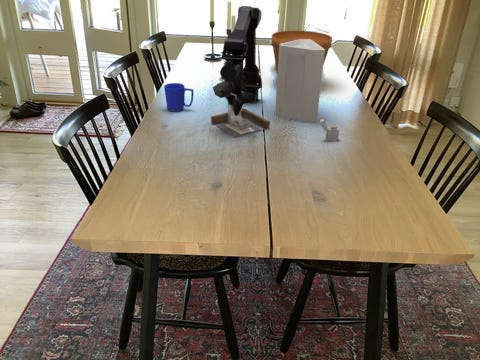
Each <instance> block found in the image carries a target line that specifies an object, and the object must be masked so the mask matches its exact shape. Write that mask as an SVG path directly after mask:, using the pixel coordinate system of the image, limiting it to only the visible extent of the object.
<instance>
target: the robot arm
mask: <svg viewBox="0 0 480 360" xmlns="http://www.w3.org/2000/svg"><path fill="white" fill-rule="evenodd" d="M237 10H238V11H237V19H236V22H235V25H234V27H233V29H232V30H233V31H230V33H228V34H227V36H226V39H225V40H224V43H223V48H222V55H221V60H225V64H223V66H222V67H221V68H220V71H219V74H220V75H219V76H220V77H221V79H222V81H220V82H218V83H217V84H215V85H214V86H212V89H213V92H214V93H213V94H214V96H216V97H217V98H219V99H223V98H224V99H226V101H227V105H228V104H230V103H234V111H235V116H238V114H239V112H240V110H241V108H242V109H243V106H244V105H248V104H252V103H257V102H260V101H261V99H260V98H259V90H260V89H262V88H263V80H262V76H261V74H260V69H259V67H258V65H257V64H256V58H257V57H256V52H257V51H256V49H257V43H256V42H257V36H256V35H257V28H258V27H259V25H260V22H261V20H262V10H261V9H260V8H259V7H252V6H250V5H244V6H243V5H240V6H239V7H238V9H237ZM223 79H224V81H223Z"/></svg>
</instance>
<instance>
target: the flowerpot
mask: <svg viewBox="0 0 480 360" xmlns="http://www.w3.org/2000/svg"><path fill="white" fill-rule="evenodd" d="M299 39H311V40H313V41H314V42H315V43H317V44H318V45H320V46H321V47H322V48H324V49H325V54H324V63H323V66H324V65H325V62H326V58H327V56H328V53H329V50H330V49H331V48H332V41H333V38H332V36H331V35H329V34H326V33H322V32H317V31H310V30H308V31H307V30H283V31H276V32H274V33H272V34H271V46H272V50H273V56H274V62H275V70H276V75H278V60H279V44H281V43H285V42H290V41H294V40H299Z"/></svg>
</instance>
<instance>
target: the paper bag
mask: <svg viewBox="0 0 480 360" xmlns="http://www.w3.org/2000/svg"><path fill="white" fill-rule="evenodd" d="M324 54H325V49H324V48H322V47H321V46H320V45H318V44H317V43H315V42H314V41H313V40H311V39H299V40H294V41H290V42H285V43H281V44H279V60H278V75H277V74H276V75H277V77H276V78H277V79H276V94H275V107H274V110H275V111H274V115H275V116H276V117H278V118H284V119H288V120H293V121H297V122H302V123H317V122H318V114H319V103H320V95H321V86H322V81H323V79H322V78H323V70H324V65H323V63H324V64H325V62H324Z"/></svg>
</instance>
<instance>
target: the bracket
mask: <svg viewBox="0 0 480 360" xmlns="http://www.w3.org/2000/svg"><path fill="white" fill-rule="evenodd" d="M242 109H243V107H242V108H241V110H240V112H239V114H238V116H235V111H234V103H230V104H228V103H227V113H228V121H227V123H228V122H229V123H231V124H233V125H234V126H236V127H237V128H239V129H241V130H242V129H246V128H250V127H252V124H253V122H251V121H249V120H248V119H246V118H242V117H241V115H242Z"/></svg>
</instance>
